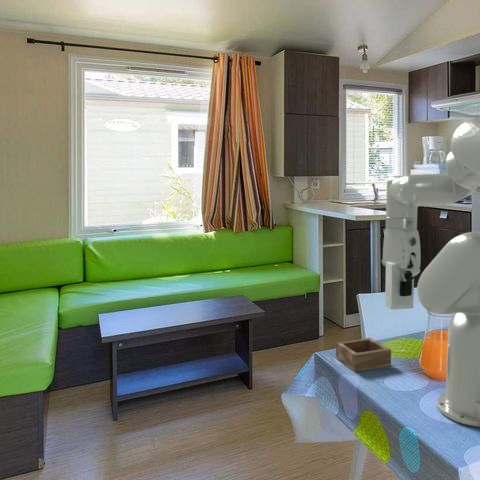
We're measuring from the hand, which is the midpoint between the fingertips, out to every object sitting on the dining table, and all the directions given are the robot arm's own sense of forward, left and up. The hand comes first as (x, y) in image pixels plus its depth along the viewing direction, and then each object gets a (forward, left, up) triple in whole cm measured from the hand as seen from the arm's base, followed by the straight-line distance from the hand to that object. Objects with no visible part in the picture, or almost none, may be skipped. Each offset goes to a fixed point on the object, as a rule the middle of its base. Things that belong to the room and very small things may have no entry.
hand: (398, 292), depth 114 cm
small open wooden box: (+3, +8, -19) cm, 21 cm away
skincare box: (0, 0, -4) cm, 4 cm away
